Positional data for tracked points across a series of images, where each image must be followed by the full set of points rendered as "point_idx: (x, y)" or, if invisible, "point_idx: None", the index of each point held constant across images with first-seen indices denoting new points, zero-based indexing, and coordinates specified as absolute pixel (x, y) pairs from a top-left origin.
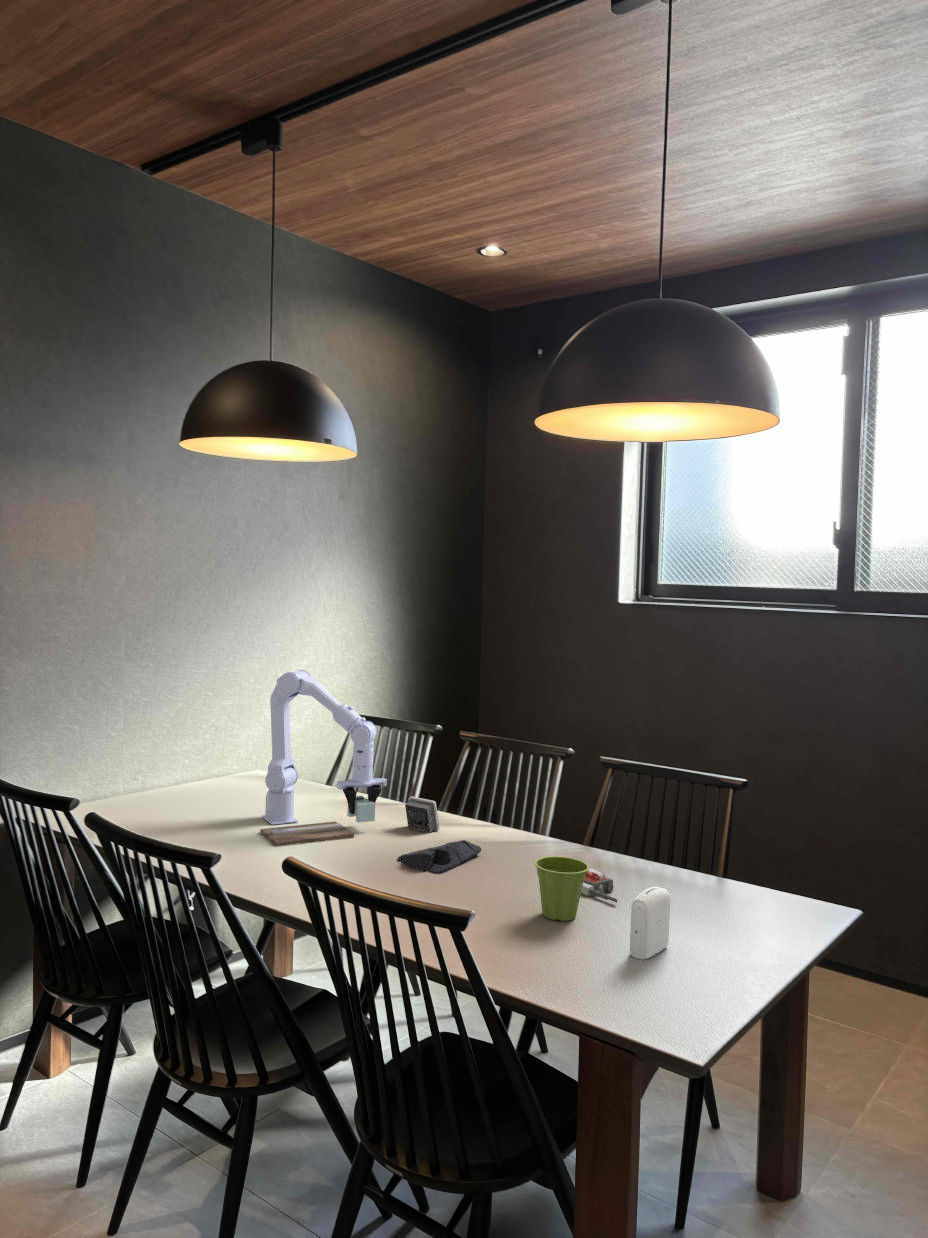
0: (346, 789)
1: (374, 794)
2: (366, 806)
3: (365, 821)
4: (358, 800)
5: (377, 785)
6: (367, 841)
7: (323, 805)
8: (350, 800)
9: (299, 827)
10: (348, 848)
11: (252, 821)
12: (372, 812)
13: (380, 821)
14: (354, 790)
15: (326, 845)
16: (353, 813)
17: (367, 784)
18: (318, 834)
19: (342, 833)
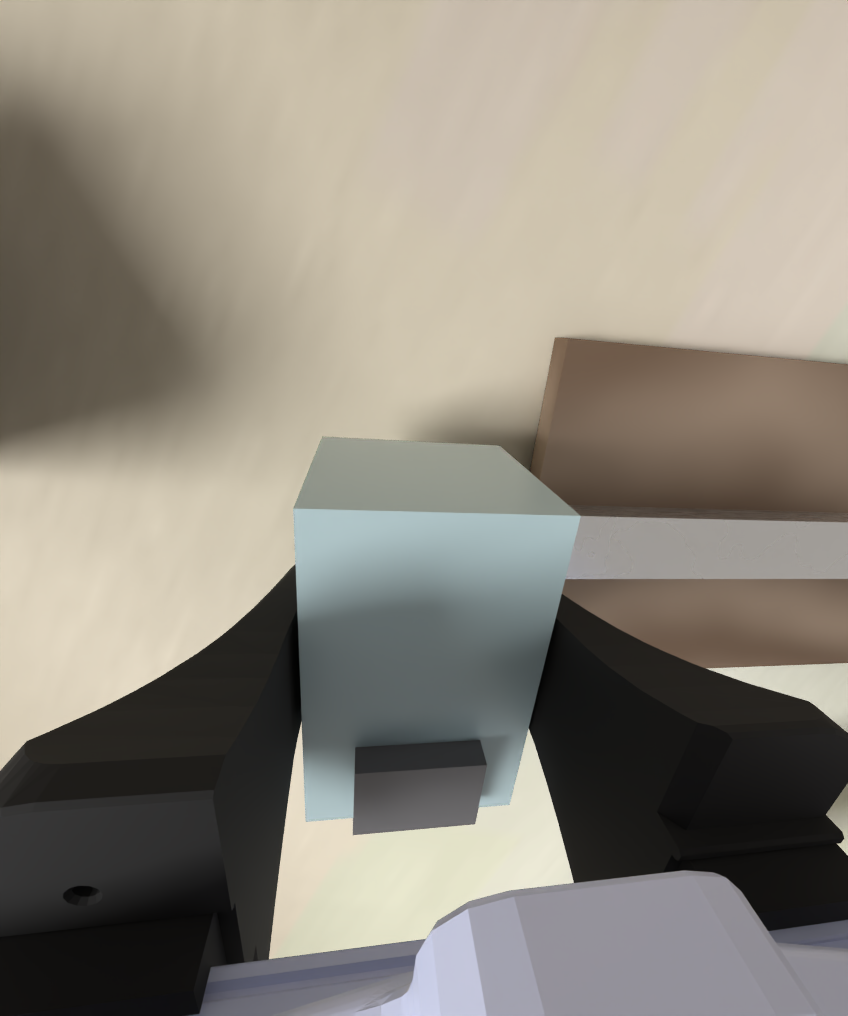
0: (840, 854)
1: (236, 698)
2: (447, 499)
3: (424, 443)
4: (452, 713)
5: (14, 1012)
6: (519, 159)
7: (369, 932)
8: (650, 651)
9: (824, 576)
10: (790, 15)
11: None
12: (347, 465)
13: (171, 651)
14: (666, 826)
15: (842, 234)
16: None
17: (662, 965)
18: (777, 446)
19: (635, 393)
